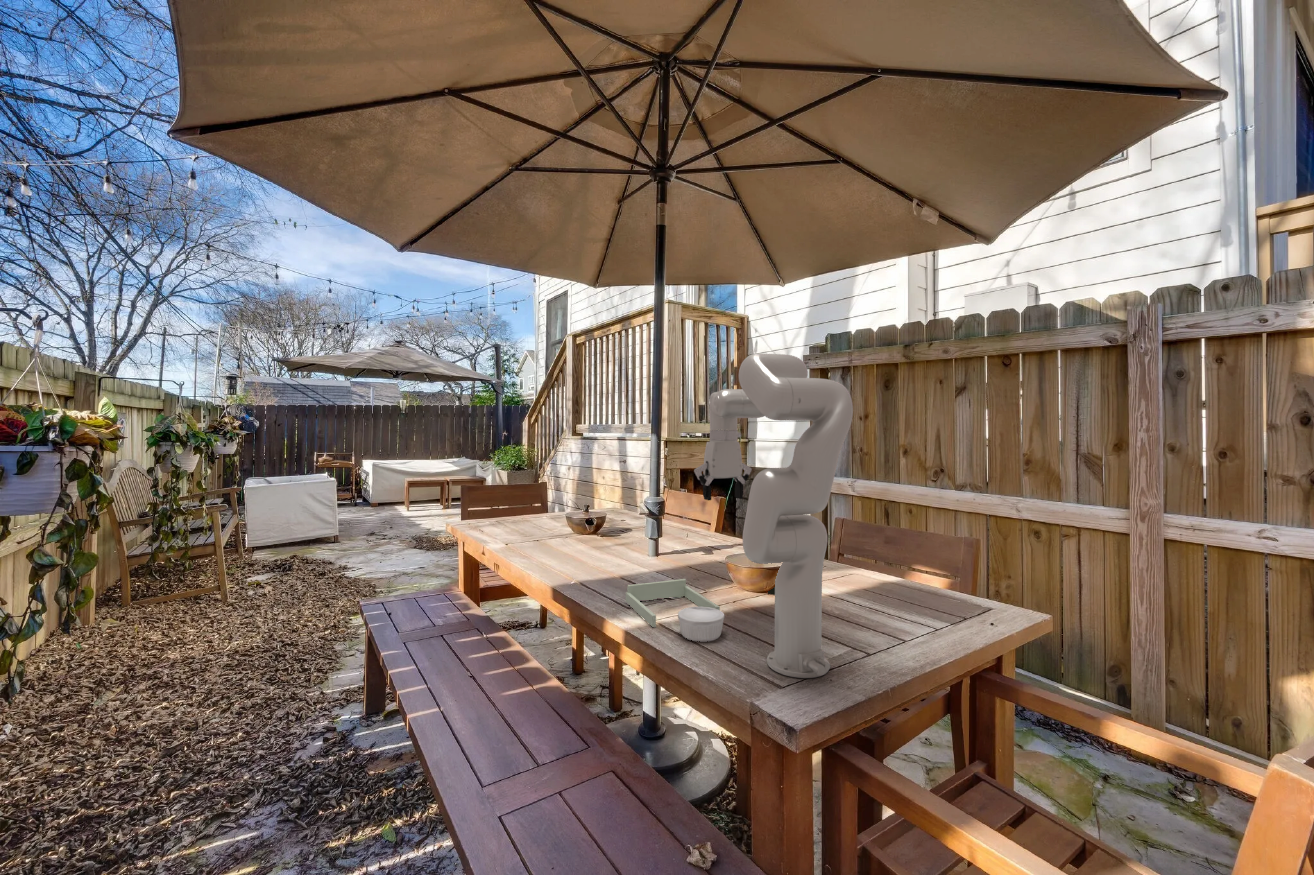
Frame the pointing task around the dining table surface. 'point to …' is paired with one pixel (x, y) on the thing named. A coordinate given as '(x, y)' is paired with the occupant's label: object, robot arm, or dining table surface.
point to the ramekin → (701, 623)
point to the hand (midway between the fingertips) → (723, 499)
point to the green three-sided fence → (662, 596)
